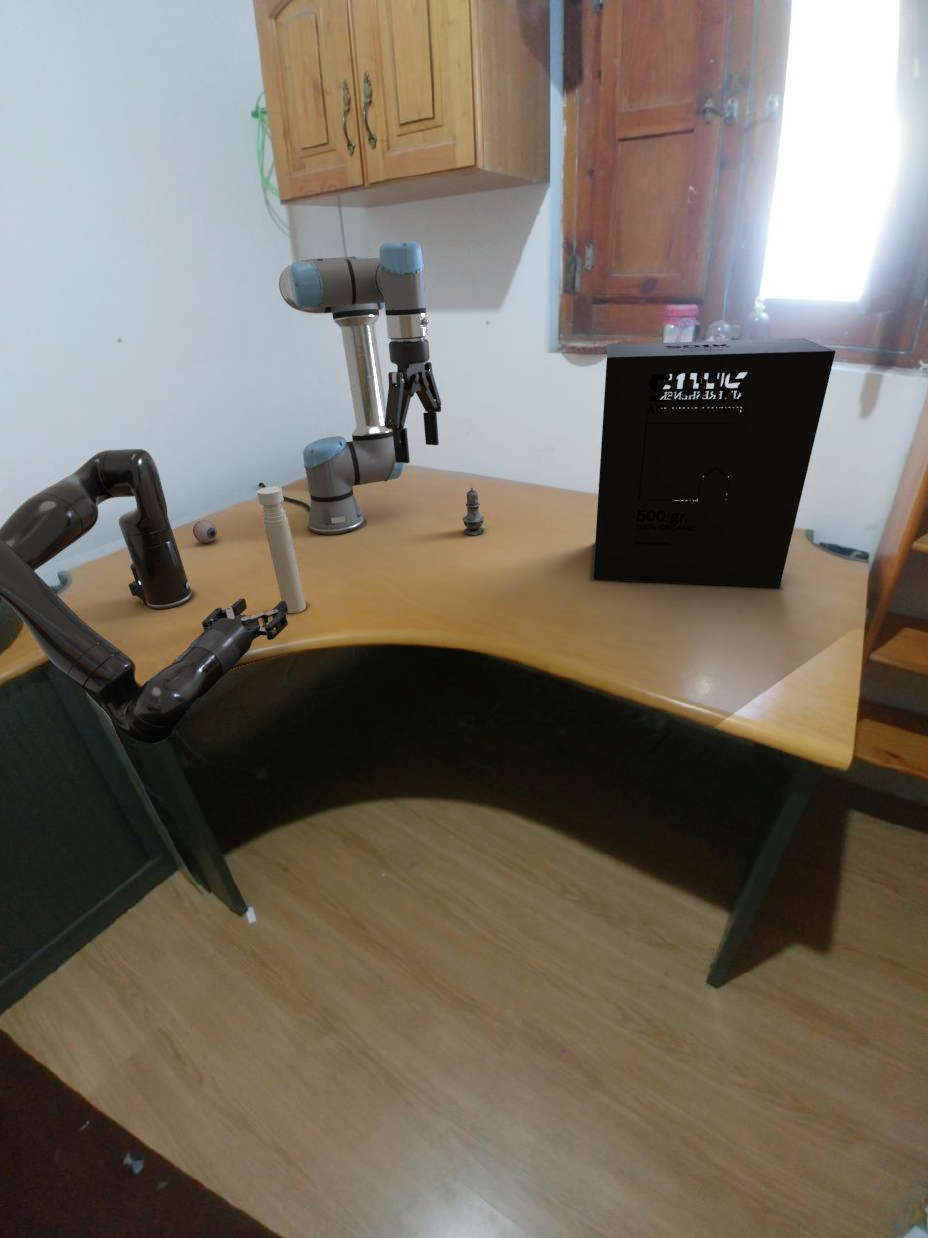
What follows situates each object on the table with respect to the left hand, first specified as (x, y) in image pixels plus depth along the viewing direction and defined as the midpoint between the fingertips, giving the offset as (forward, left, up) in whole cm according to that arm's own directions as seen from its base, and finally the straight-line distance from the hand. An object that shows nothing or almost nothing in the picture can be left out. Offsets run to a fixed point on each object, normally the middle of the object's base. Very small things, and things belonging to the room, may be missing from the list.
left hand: (264, 603), depth 116 cm
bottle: (0, +10, -7) cm, 12 cm away
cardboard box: (+80, +41, -7) cm, 90 cm away
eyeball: (-41, +42, -7) cm, 59 cm away
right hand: (+25, +28, +22) cm, 43 cm away
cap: (0, +10, +19) cm, 22 cm away
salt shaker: (+30, +56, -7) cm, 64 cm away
